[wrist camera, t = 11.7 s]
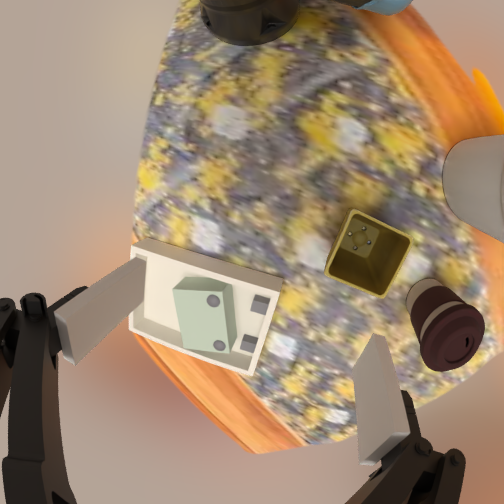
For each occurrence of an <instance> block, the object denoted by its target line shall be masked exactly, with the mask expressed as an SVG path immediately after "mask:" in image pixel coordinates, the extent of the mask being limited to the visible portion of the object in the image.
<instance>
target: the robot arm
mask: <svg viewBox="0 0 504 504" xmlns="http://www.w3.org/2000/svg"><path fill="white" fill-rule="evenodd" d="M329 1H334V2H338V3H342V4H346V5H350V6H352V7H353V8H355V9H364V10H368V11H372V12H375V13H379V14H382V15H393V14H398V13H400V12H402V11H403V10H404V9H405V8H406V7H407V6H408V5H409V4H410V3H411V2H412V1H413V0H329ZM200 8H201V16H202V20H203V22H204V24H205V26H206V27H207V28H208V29H209V30H210V32H211V33H212V34H213V35H214V36H215V37H217V38H218V39H220V40H222V41H224V42H227V43H230V44H234V45H242V46H249V45H258V44H263V43H266V42H269V41H272V40H274V39H277V38H278V37H280V36H282V35H283V34H285V33H286V32H287V31H288V30H290V29H291V27H292V26H293V25H294V24H295V22H296V20H297V18H298V15H299V10H300V9H299V0H200ZM145 273H146V261H145V260H143V259H140V258H137V257H135V258H133V259H131V260H130V261H128V262H127V263H125V264H124V265H122V266H121V267H119V268H117V269H116V270H115V271H113V272H111V273H110V274H108V275H107V276H105V277H104V278H102V279H101V280H99V281H98V282H96V283H95V284H93V285H92V286H90V287H87V286H83V287H80V288H76V289H75V290H73V291H72V292H70V293H69V294H67V295H66V296H64V298H61V299H60V300H58V301H57V302H55V303H54V304H53V305H51V306H50V307H48V308H47V305H46V299H45V297H44V296H43V295H41V294H40V293H29V294H26V295H25V296H23V297H22V298H21V300H20V304H21V308H22V311H21V310H18V309H16V306H15V302H14V301H13V300H12V299H10V298H1V299H0V417H1V414H2V410H3V407H4V404H5V401H6V398H7V395H8V392H9V390H10V400H9V416H8V450H9V451H8V456H7V457H5V458H4V459H3V461H2V474H3V483H4V492H5V499H6V504H77V503H76V499H75V497H74V494H73V492H72V490H71V488H70V485H69V482H68V477H67V472H66V467H65V460H64V454H63V447H62V438H61V429H60V417H59V400H58V354H57V353H58V352H59V351H60V350H62V352H63V355H64V358H65V359H66V360H68V361H69V362H71V363H72V364H74V365H75V366H76V365H77V364H78V363H79V362H80V361H81V360H82V359H83V358H84V357H85V356H86V355H87V354H88V353H89V352H90V351H91V350H92V349H93V348H94V347H95V346H96V345H97V344H98V343H99V342H100V341H102V339H104V338H105V337H106V336H107V335H108V334H109V333H110V332H111V331H112V330H113V329H114V328H115V327H116V326H117V325H118V324H119V323H120V322H122V321H123V320H124V319H125V318H126V317H127V316H128V315H129V314H130V313H131V312H132V311H133V310H135V309H136V308H137V307H138V306H139V305H140V304H141V303H142V302H143V301H144V288H145ZM2 340H3V341H2ZM352 372H353V381H354V391H355V403H356V416H357V431H358V453H359V464H360V465H375V464H376V463H377V462H378V461H379V460H381V464H382V466H381V467H380V468H379V469H377V470H376V471H375V472H373V473H372V474H371V475H370V476H369V477H370V478H369V480H368V481H367V482H366V483H365V484H364V485H363V486H362V487H361V488H360V489H359V490H358V491H357V492H356V493H355V494H354V495H353V496H352V497H351V498H350V499H349V500H348V501H347V502H346V503H345V504H458V502H459V497H460V493H461V488H462V483H463V477H464V471H465V464H466V461H465V457H464V455H463V453H462V452H461V451H459V450H458V449H450V450H449V451H448V452H447V453H445V454H442V453H439V452H436V451H433V447H432V445H431V443H430V442H429V441H428V440H426V439H425V438H423V437H421V433H420V428H419V424H418V420H417V416H416V415H415V414H416V412H415V408H414V405H413V401H412V398H411V397H410V395H409V394H408V392H407V391H404V390H400V386H399V382H398V379H397V375H396V371H395V368H394V364H393V361H392V358H391V354H390V351H389V348H388V344H387V341H386V338H385V336H381V335H377V334H374V333H373V335H372V337H371V338H370V340H369V342H368V344H367V345H366V347H365V349H364V351H363V352H362V354H361V356H360V357H359V359H358V361H357V362H356V364H355V365H354V367H353V369H352ZM10 387H11V388H10Z"/></svg>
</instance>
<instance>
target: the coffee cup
mask: <svg viewBox="0 0 504 504" xmlns="http://www.w3.org/2000/svg"><path fill="white" fill-rule="evenodd" d="M406 304H407V309H408V312H409V314H410V317H411V322H412V325H413V328H414V330H415V333H416V335H417V338H418V341H419V343H420V353H421V356H422V358H423V361H424V363H425V364H426V366H427V367H428V368H430V369H431V370H434V371H440V372H443V371H449V370H452V369H456V368H459V367H461V366H462V365H464V364H465V363H467V362H468V361H469V360H470V359H471V358H472V357H473V356H474V354H475V353H476V351H477V349H478V347H479V345H480V343H481V341H482V338H483V335H484V330H485V323H484V319H483V317H482V315H481V314H480V312H479V311H478V310H477V309H476V308H475V307H473V306H471V305H469V304H466V303H465V302H464V301H463V300H462V299H461V298H460V297H458V296H457V295H456V294H455V293H454V292H453V291H451V290H450V289H449V288H447V287H445V286H443V285H442V284H441V283H440V282H439V281H437V280H435V279H424V280H421V281H419V282H418V283H416V284H415V285H414V286H413V287H412V289H411V290H410V292H409V294H408V296H407V301H406Z"/></svg>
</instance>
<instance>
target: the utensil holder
mask: <svg viewBox="0 0 504 504" xmlns="http://www.w3.org/2000/svg"><path fill="white" fill-rule="evenodd" d="M443 189H444V194H445V197H446V200H447V203H448V205H449V207H450V208H451V210H452V211H453V213H454V214H455V215H456V216H457V217H458V218H459V219H461V220H462V221H464V222H466V223H468V224H469V225H471V226H473V227H475V228H477V229H478V230H480V231H482V232H484V233H486V234H488V235H490V236H492V237H494V238H495V239H497V240H499V241H501V242H502V243H504V135H495V136H485V137H478V138H472V139H466V140H463V141H460V142H459V143H457V144H456V145H455V146H454V147H453V148H452V149H451V150H450V152H449V154H448V155H447V158H446V160H445V164H444V168H443Z"/></svg>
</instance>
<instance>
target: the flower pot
mask: <svg viewBox="0 0 504 504" xmlns="http://www.w3.org/2000/svg"><path fill="white" fill-rule="evenodd" d="M364 226H365V227H366V230H363V229H362V228H363V227H364ZM349 232H351V233H352V235H351V236H349V235H348V233H349ZM368 241H371V243H370V244H368V243H367V242H368ZM413 241H414V238H413V237H412V236H411V235H408V234H406V233H404V232H402V231H400V230H398V229H396V228H394V227H392V226H389V225H387V224H385V223H383V222H381V221H379V220H377V219H375V218H373V217H371V216H369V215H367V214H365V213H363V212H361V211H359V210H357V209H354V208H350V209H349V210H348V212H347V214H346V216H345V219H344V221H343V224H342V226H341V228H340V231H339V233H338V235H337V238H336V240H335V242H334V244H333V246H332V249H331V251H330V253H329V255H328V257H327V261H326V265H325V270H324V275H325V276H327V277H329V278H332V279H334V280H336V281H339V282H341V283H344V284H346V285H349V286H351V287H353V288H356V289H358V290H361V291H363V292H366V293H368V294H370V295H372V296H375V297H378V298H381V299H384V298H385V296H386V295H387V293H388V291H389V290H390V288H391V286H392V284H393V282H394V280H395V278H396V276H397V274H398V272H399V270H400V268H401V267H402V264H403V263H404V261H405V259H406V257H407V255H408V253H409V251H410V249H411V247H412V244H413ZM354 246H356V247H357V249H356V250H354V249H353V247H354Z"/></svg>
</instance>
